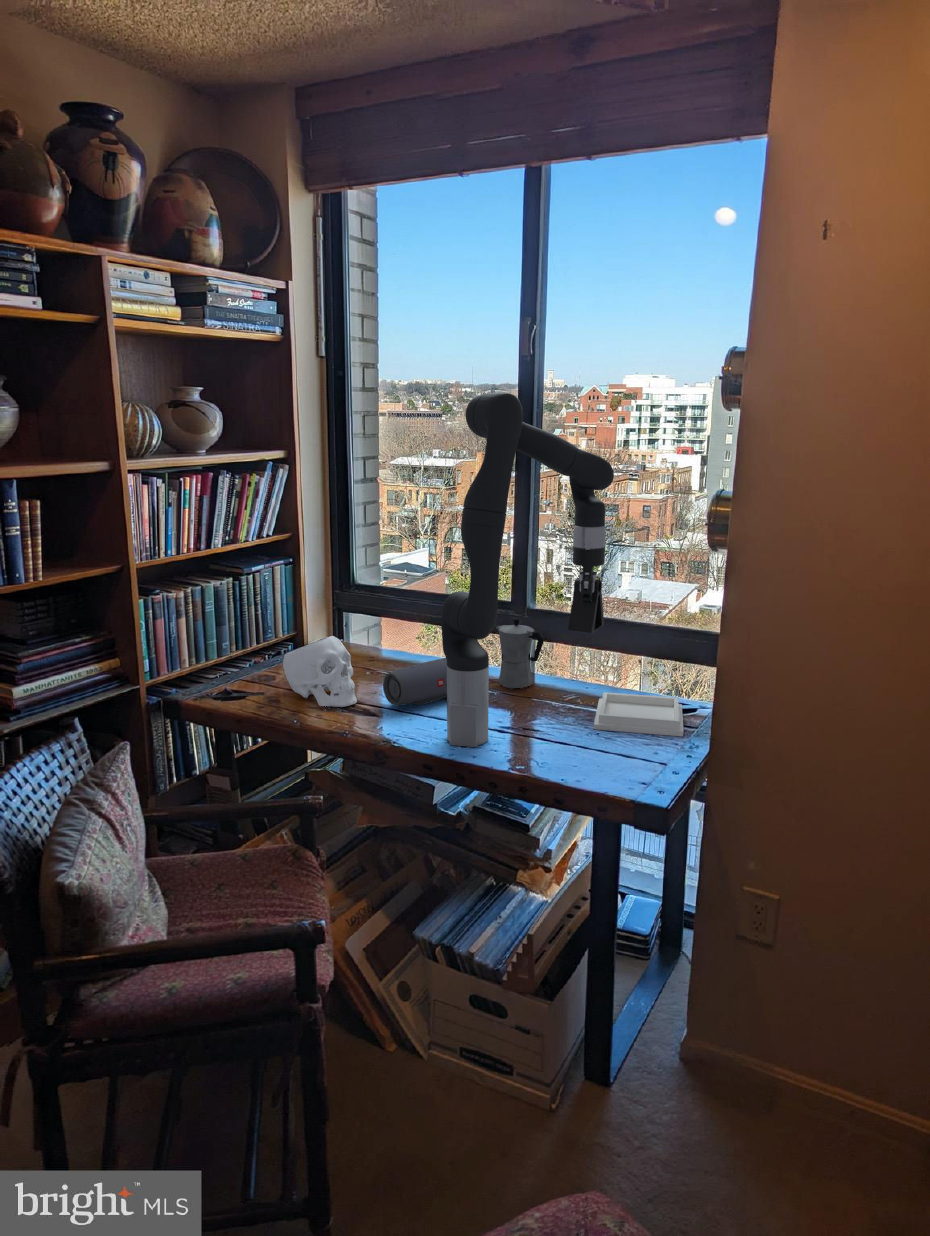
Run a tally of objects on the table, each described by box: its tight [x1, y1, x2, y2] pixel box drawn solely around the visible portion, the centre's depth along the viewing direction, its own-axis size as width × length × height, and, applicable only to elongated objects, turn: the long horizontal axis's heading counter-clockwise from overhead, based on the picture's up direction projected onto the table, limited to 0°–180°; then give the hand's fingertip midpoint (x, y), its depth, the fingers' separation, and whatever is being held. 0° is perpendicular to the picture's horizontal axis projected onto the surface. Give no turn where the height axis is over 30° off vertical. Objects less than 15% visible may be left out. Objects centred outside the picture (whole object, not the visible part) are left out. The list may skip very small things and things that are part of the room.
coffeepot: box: [495, 617, 545, 689], centre depth 223 cm, size 15×9×18 cm, turn 49°
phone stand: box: [567, 577, 605, 634], centre depth 202 cm, size 9×6×12 cm, turn 151°
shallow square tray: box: [593, 691, 684, 737], centre depth 200 cm, size 18×20×3 cm
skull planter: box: [282, 635, 358, 708], centre depth 213 cm, size 14×20×19 cm
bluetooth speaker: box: [382, 657, 447, 707], centre depth 212 cm, size 23×9×10 cm, turn 129°
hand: (586, 615), depth 203 cm, fingers closed on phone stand, 2 cm apart
